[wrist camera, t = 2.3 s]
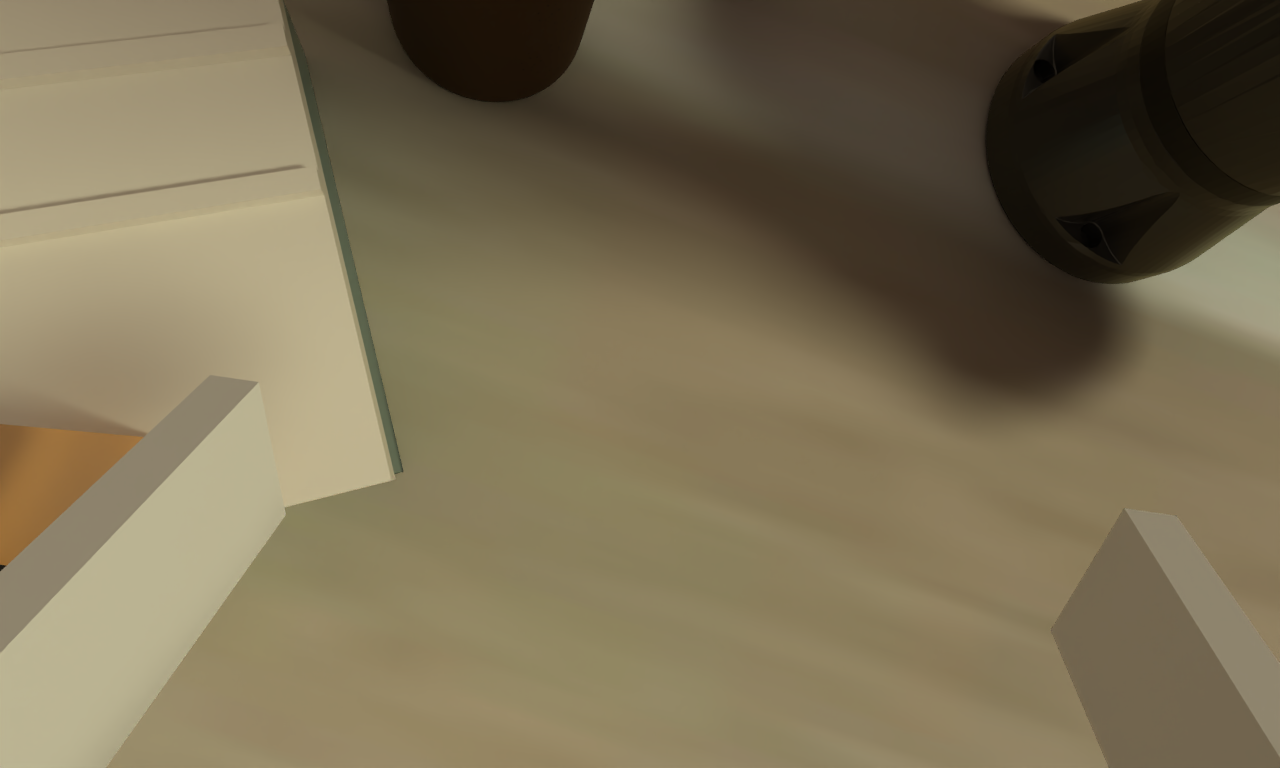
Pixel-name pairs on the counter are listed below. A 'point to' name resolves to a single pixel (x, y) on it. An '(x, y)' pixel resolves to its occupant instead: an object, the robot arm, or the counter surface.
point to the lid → (166, 249)
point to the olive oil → (491, 43)
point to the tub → (346, 249)
